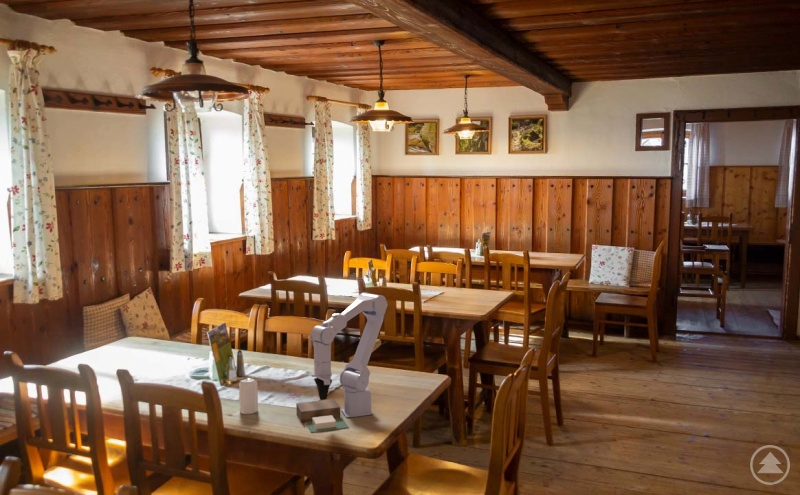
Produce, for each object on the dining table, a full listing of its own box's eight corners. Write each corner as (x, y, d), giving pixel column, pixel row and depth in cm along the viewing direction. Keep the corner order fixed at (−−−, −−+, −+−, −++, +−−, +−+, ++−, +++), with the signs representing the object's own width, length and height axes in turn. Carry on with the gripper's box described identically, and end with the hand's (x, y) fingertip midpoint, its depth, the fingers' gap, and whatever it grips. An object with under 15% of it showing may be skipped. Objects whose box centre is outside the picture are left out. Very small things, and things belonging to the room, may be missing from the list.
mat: (341, 418, 237) (341, 417, 237) (348, 427, 228) (348, 427, 228) (305, 422, 233) (305, 421, 233) (311, 432, 224) (311, 432, 224)
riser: (334, 409, 246) (334, 398, 245) (340, 418, 237) (340, 407, 237) (296, 413, 241) (296, 403, 241) (301, 422, 233) (301, 411, 232)
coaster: (335, 421, 228) (336, 426, 228) (331, 415, 234) (332, 420, 234) (315, 423, 226) (315, 429, 226) (312, 417, 232) (312, 423, 232)
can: (259, 408, 247) (258, 376, 246) (256, 414, 241) (255, 382, 239) (241, 408, 247) (240, 377, 245) (238, 415, 240) (237, 382, 239)
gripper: (306, 356, 234) (307, 393, 236) (315, 367, 221) (316, 407, 222) (326, 354, 237) (327, 391, 238) (336, 365, 223) (336, 404, 225)
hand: (323, 398), depth 230 cm, fingers closed
